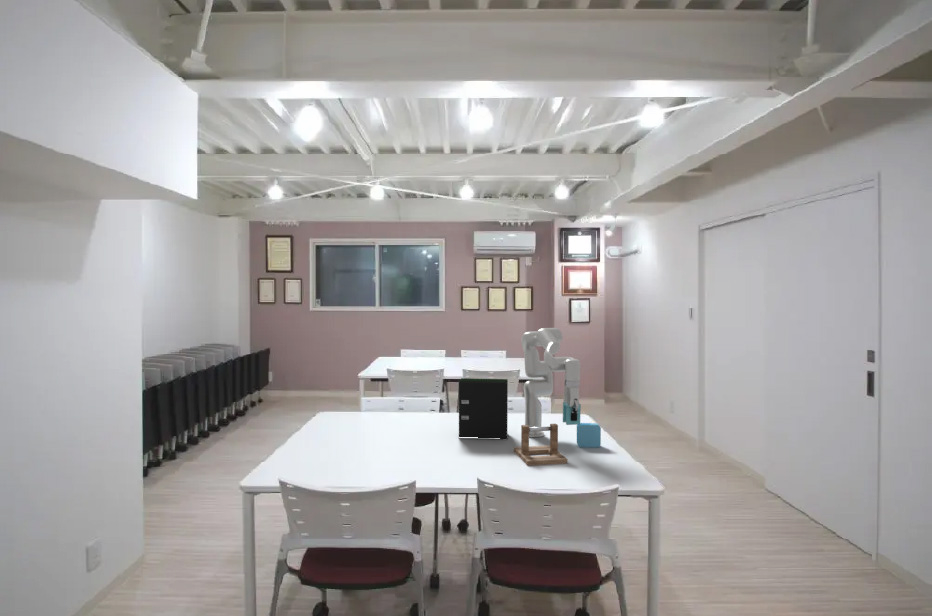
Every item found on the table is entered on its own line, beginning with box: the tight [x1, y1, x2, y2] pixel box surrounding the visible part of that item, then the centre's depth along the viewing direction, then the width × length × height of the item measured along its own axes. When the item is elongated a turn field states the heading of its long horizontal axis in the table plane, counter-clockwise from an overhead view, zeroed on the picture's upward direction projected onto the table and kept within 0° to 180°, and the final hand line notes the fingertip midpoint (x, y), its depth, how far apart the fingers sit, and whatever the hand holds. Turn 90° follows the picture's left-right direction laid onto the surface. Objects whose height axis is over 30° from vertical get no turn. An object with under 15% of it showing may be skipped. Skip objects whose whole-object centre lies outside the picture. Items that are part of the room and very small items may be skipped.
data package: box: [576, 422, 602, 448], centre depth 287 cm, size 12×4×12 cm, turn 87°
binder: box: [458, 377, 509, 440], centre depth 307 cm, size 27×15×32 cm, turn 85°
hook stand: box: [513, 423, 568, 466], centre depth 267 cm, size 24×20×16 cm
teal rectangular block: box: [562, 401, 582, 426], centre depth 270 cm, size 6×7×10 cm
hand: (571, 418), depth 270 cm, fingers closed on teal rectangular block, 6 cm apart
